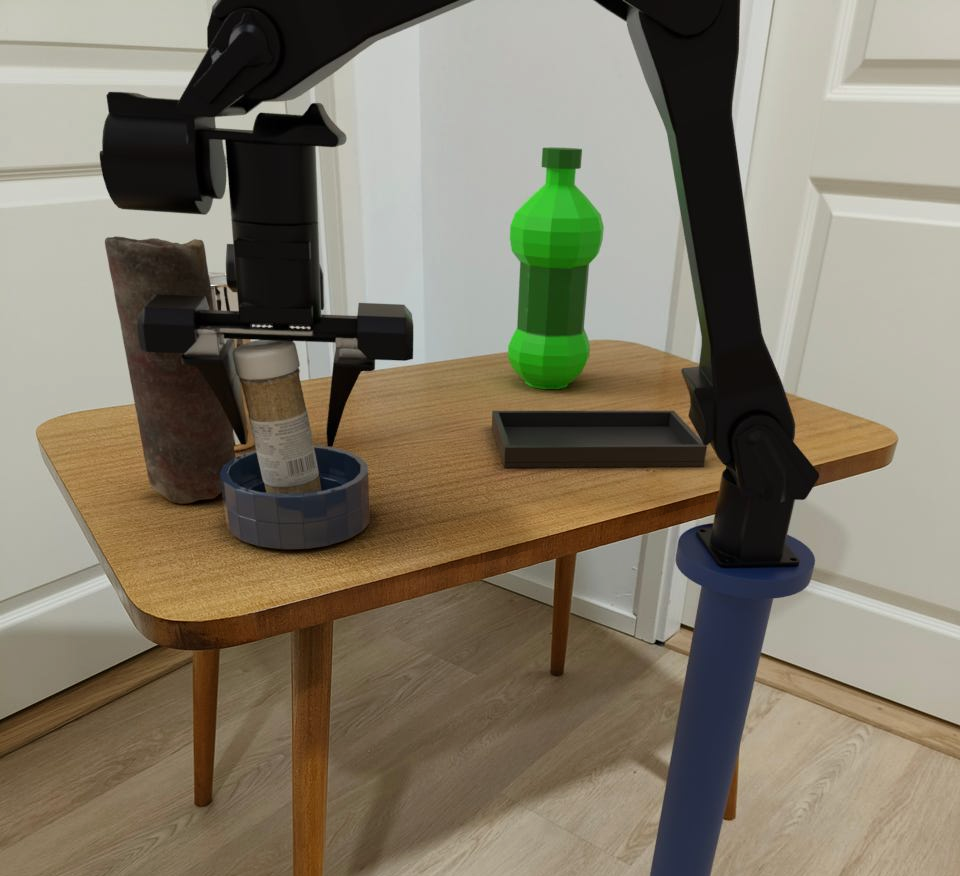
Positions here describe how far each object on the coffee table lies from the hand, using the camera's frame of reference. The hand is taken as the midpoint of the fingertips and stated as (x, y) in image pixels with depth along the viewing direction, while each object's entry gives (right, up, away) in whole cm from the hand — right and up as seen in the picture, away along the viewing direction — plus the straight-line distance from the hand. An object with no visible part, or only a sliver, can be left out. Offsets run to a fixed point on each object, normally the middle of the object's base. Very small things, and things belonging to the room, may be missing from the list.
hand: (287, 444), depth 68 cm
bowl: (0, -6, +3) cm, 7 cm away
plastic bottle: (+23, +16, +40) cm, 49 cm away
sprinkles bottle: (0, -5, +3) cm, 6 cm away
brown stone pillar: (-10, -2, +9) cm, 14 cm away
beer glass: (-10, +4, +19) cm, 22 cm away
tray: (+26, +4, +21) cm, 34 cm away
